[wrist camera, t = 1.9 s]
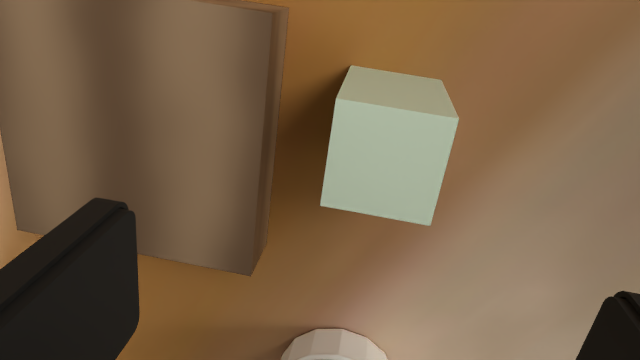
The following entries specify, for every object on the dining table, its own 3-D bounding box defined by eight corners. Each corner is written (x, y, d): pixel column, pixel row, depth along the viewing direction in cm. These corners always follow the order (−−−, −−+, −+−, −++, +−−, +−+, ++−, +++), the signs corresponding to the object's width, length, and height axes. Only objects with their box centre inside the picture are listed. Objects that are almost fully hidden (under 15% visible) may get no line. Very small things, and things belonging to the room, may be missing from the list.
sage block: (441, 79, 20) (459, 118, 15) (420, 163, 22) (430, 226, 17) (350, 65, 21) (335, 98, 15) (337, 148, 22) (320, 205, 17)
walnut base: (288, 7, 20) (272, 13, 17) (266, 243, 25) (250, 276, 22) (27, -32, 21) (-28, -33, 18) (56, 202, 26) (17, 229, 23)
